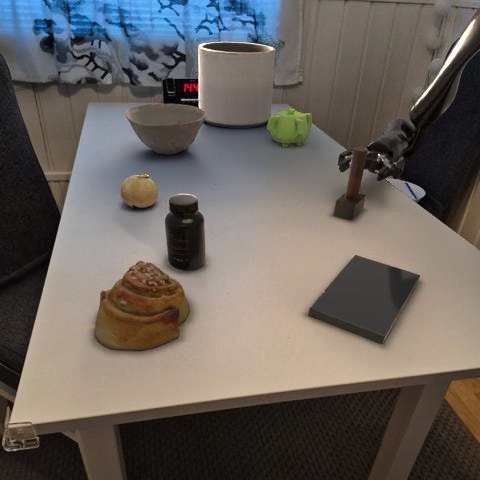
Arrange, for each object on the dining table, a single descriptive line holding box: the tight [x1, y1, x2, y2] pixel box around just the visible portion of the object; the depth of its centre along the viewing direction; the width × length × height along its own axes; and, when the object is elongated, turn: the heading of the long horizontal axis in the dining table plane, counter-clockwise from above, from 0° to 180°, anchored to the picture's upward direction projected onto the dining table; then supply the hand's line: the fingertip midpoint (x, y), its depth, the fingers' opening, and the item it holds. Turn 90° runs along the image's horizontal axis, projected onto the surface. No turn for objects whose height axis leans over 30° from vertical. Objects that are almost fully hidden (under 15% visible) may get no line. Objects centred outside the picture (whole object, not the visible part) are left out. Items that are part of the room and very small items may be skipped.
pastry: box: [94, 260, 191, 351], centre depth 65 cm, size 13×15×8 cm
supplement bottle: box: [164, 193, 207, 271], centre depth 77 cm, size 7×7×12 cm
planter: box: [197, 41, 276, 129], centre depth 150 cm, size 25×25×22 cm
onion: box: [119, 170, 159, 209], centre depth 97 cm, size 8×8×7 cm
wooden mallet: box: [333, 146, 368, 221], centre depth 96 cm, size 7×4×14 cm, turn 148°
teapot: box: [266, 108, 313, 148], centre depth 136 cm, size 12×12×10 cm
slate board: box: [307, 254, 421, 345], centre depth 74 cm, size 20×12×2 cm, turn 148°
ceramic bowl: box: [124, 103, 207, 156], centre depth 126 cm, size 22×23×10 cm
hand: (360, 172), depth 96 cm, fingers open, 8 cm apart
